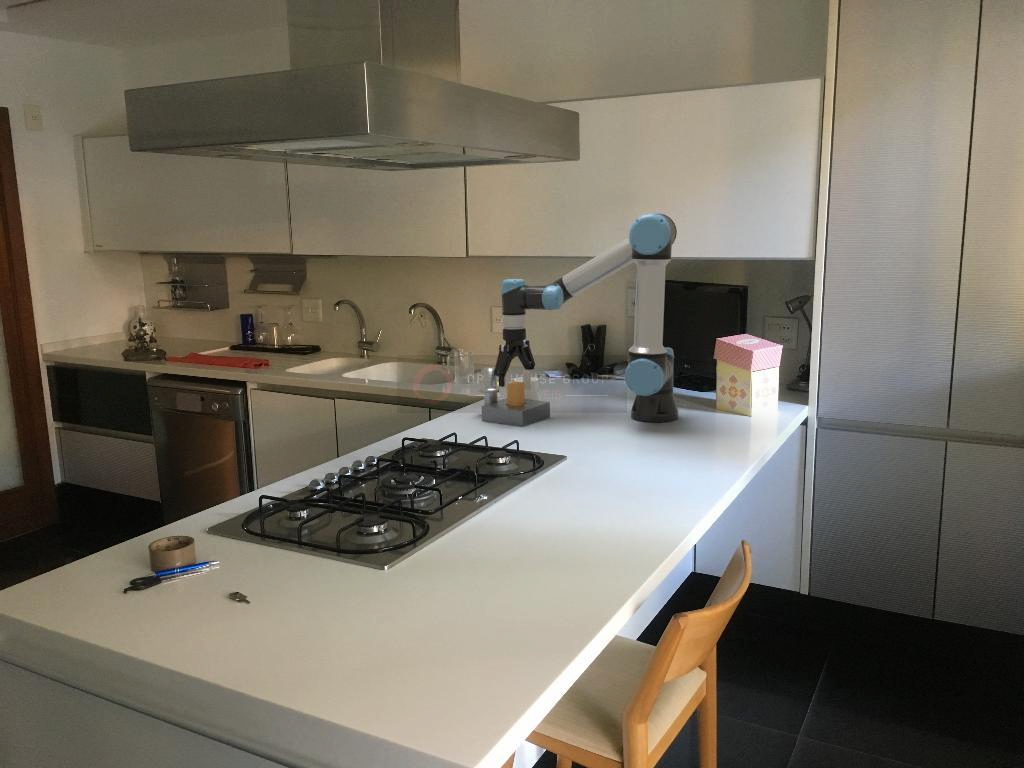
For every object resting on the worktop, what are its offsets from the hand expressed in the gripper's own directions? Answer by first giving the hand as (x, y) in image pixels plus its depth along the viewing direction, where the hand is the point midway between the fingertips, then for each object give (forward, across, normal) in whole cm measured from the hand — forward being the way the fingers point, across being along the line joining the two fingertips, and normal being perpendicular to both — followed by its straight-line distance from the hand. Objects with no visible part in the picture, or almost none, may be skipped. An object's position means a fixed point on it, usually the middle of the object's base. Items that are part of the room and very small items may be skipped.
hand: (515, 392), depth 271 cm
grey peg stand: (+9, 0, -3) cm, 9 cm away
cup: (+9, -15, -8) cm, 19 cm away
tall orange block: (+9, 0, 0) cm, 9 cm away
